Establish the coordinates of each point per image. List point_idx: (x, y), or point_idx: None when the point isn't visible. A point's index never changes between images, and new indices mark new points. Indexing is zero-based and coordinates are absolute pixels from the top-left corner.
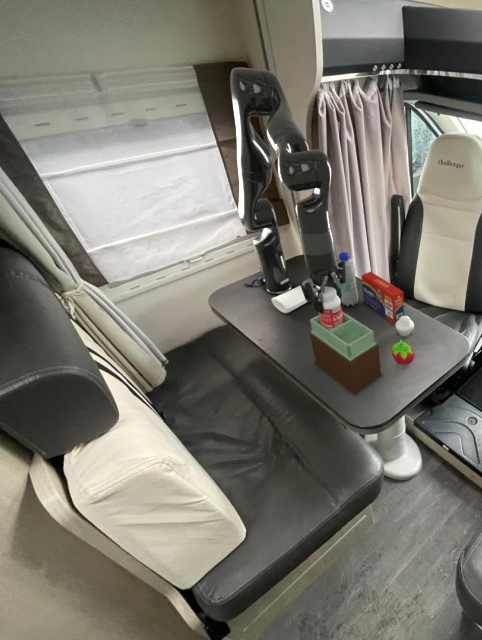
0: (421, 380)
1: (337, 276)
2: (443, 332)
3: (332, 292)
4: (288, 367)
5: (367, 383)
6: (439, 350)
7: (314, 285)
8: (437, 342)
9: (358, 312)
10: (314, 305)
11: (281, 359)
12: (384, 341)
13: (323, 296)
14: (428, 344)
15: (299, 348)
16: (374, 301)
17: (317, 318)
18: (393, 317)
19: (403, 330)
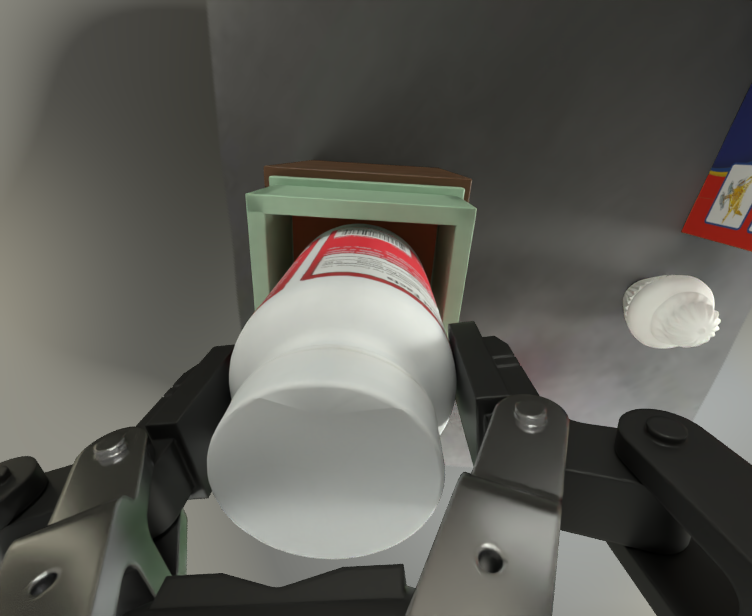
0: (468, 448)
1: (682, 509)
2: (705, 387)
3: (358, 534)
4: (217, 83)
5: None
6: (609, 422)
7: (72, 587)
8: (644, 399)
9: (707, 2)
10: (157, 409)
11: (216, 4)
12: (562, 268)
13: (230, 516)
14: (621, 385)
15: (316, 4)
16: None
17: (301, 215)
18: (712, 228)
19: (633, 331)
